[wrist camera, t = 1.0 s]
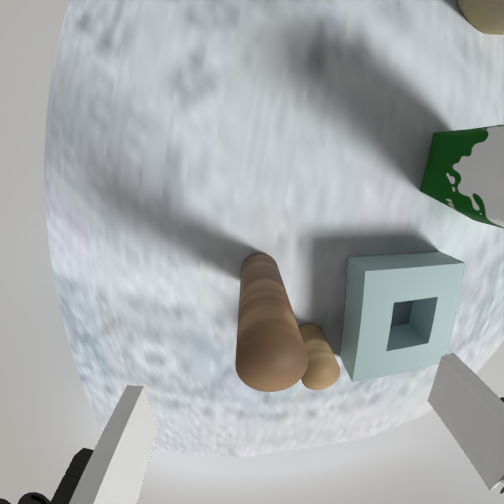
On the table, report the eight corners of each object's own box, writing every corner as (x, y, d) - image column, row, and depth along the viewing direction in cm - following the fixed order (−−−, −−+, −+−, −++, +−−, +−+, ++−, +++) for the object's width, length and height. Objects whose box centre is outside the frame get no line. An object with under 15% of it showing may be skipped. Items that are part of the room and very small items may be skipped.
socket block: (347, 256, 29) (365, 271, 24) (439, 251, 29) (465, 262, 25) (339, 356, 32) (352, 381, 27) (424, 342, 32) (443, 362, 27)
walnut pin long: (240, 253, 29) (233, 335, 14) (277, 252, 29) (309, 331, 14) (242, 288, 30) (238, 393, 14) (278, 287, 30) (306, 388, 14)
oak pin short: (291, 324, 31) (302, 361, 24) (324, 322, 31) (342, 356, 24) (291, 352, 32) (300, 391, 25) (322, 350, 32) (338, 387, 25)
